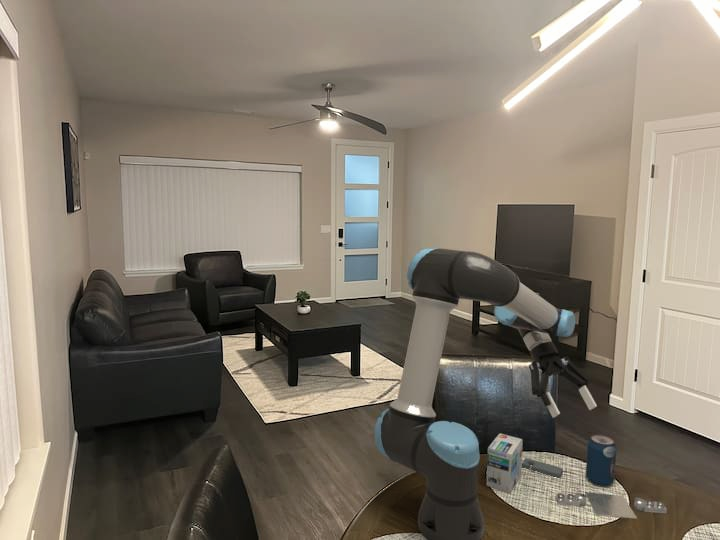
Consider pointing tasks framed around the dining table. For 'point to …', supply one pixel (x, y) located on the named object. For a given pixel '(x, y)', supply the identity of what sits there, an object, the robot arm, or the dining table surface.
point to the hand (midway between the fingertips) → (575, 412)
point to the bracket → (542, 468)
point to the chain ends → (611, 504)
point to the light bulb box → (504, 462)
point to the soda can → (601, 460)
